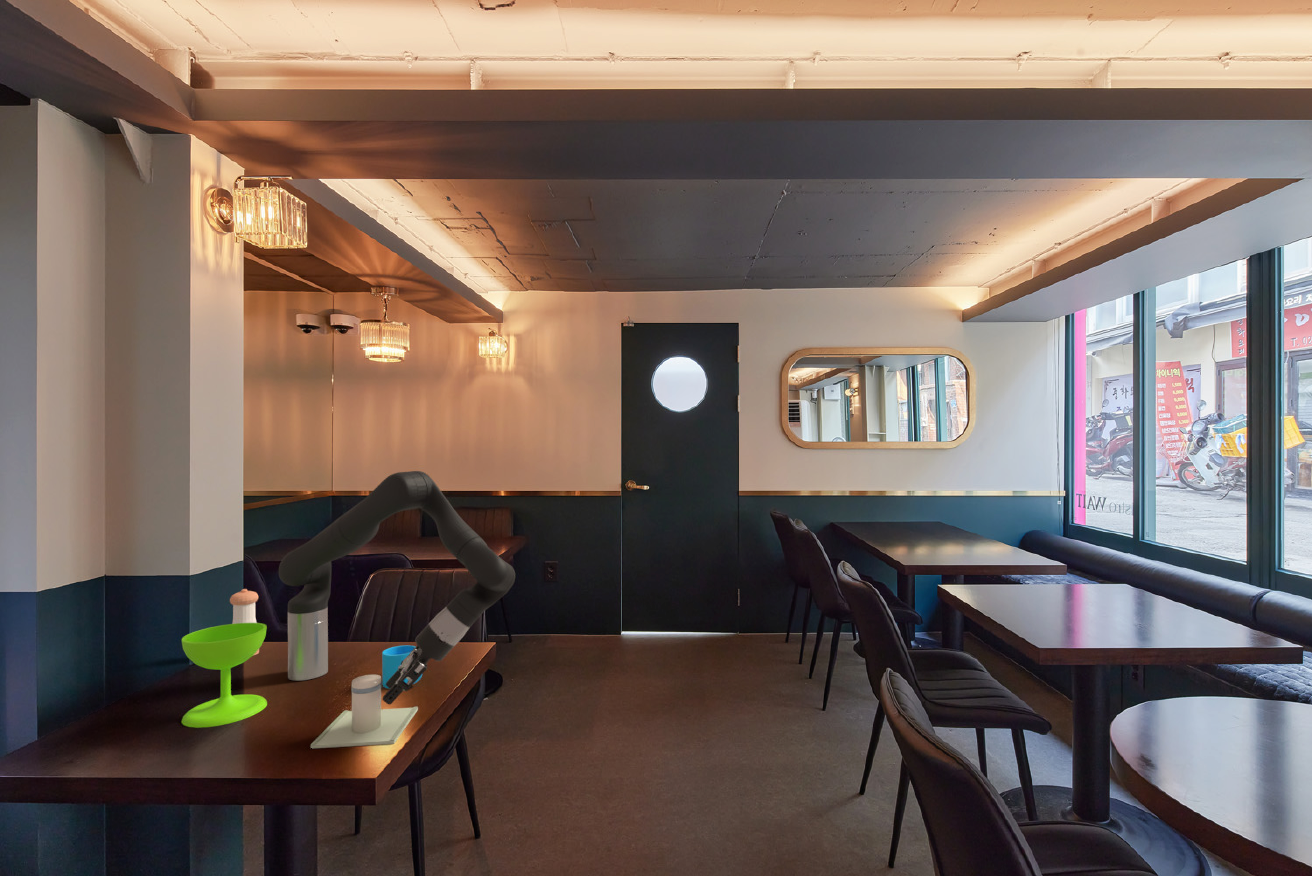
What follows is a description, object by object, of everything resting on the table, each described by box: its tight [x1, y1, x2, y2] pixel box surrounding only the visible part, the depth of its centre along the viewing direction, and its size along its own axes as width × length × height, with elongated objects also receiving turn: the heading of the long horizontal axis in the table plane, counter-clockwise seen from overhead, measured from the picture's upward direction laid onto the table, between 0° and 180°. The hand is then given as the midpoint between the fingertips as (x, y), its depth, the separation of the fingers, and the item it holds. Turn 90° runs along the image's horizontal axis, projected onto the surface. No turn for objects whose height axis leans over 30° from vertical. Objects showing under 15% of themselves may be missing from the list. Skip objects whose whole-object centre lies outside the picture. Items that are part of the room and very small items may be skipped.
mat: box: [310, 706, 419, 749], centre depth 130 cm, size 16×16×1 cm
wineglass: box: [181, 622, 268, 729], centre depth 139 cm, size 16×16×18 cm
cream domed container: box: [351, 674, 382, 733], centre depth 129 cm, size 6×6×10 cm
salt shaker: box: [229, 588, 260, 657], centre depth 180 cm, size 7×7×19 cm
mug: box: [381, 644, 423, 690], centre depth 155 cm, size 12×8×8 cm
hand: (387, 694), depth 130 cm, fingers open, 8 cm apart
